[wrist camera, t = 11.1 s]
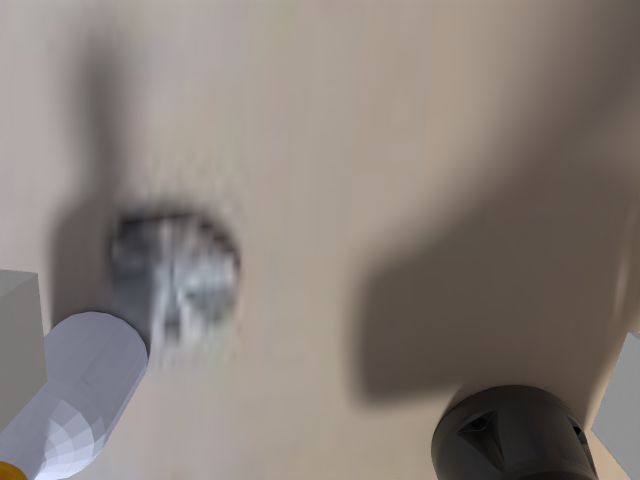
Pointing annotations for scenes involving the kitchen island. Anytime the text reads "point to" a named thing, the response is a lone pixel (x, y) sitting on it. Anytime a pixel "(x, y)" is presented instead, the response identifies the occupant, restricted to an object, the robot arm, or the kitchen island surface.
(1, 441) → the soap bottle
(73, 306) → the kitchen island surface
